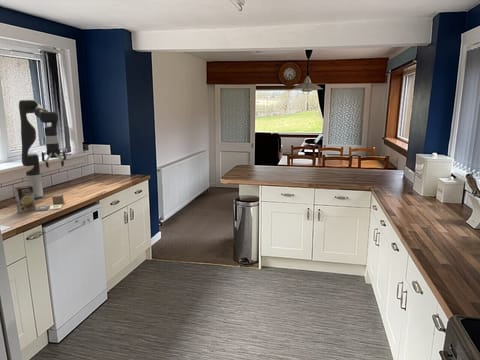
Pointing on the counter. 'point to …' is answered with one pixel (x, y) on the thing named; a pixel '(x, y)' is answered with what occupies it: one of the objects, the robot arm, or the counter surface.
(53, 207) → the pad
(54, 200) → the block
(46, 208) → the pad
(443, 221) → the counter surface
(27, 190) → the coffee box
